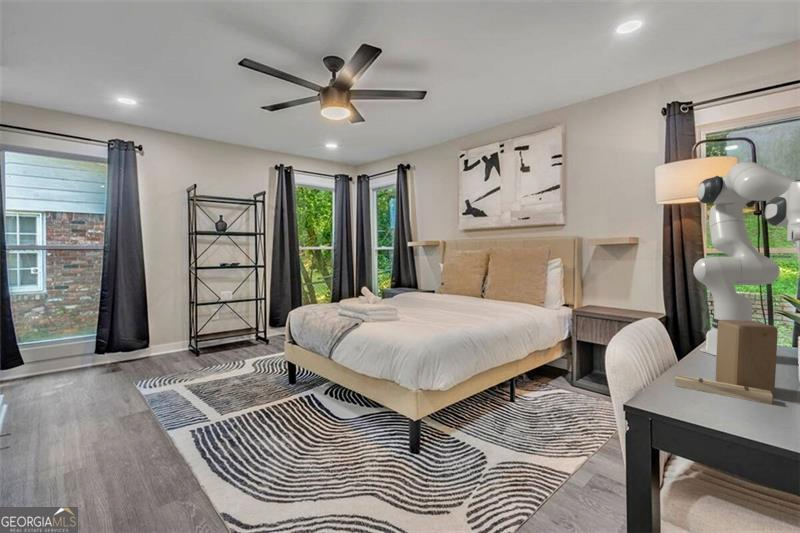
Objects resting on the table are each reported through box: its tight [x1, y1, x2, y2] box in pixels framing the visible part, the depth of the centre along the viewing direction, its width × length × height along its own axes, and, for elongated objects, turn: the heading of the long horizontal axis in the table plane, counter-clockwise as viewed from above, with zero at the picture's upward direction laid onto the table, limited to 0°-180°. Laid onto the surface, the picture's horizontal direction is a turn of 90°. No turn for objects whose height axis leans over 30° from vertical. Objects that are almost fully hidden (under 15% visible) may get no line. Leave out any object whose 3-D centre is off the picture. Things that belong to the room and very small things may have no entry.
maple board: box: [674, 374, 774, 405], centre depth 107 cm, size 4×21×3 cm, turn 50°
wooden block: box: [715, 320, 779, 395], centre depth 110 cm, size 10×10×20 cm
